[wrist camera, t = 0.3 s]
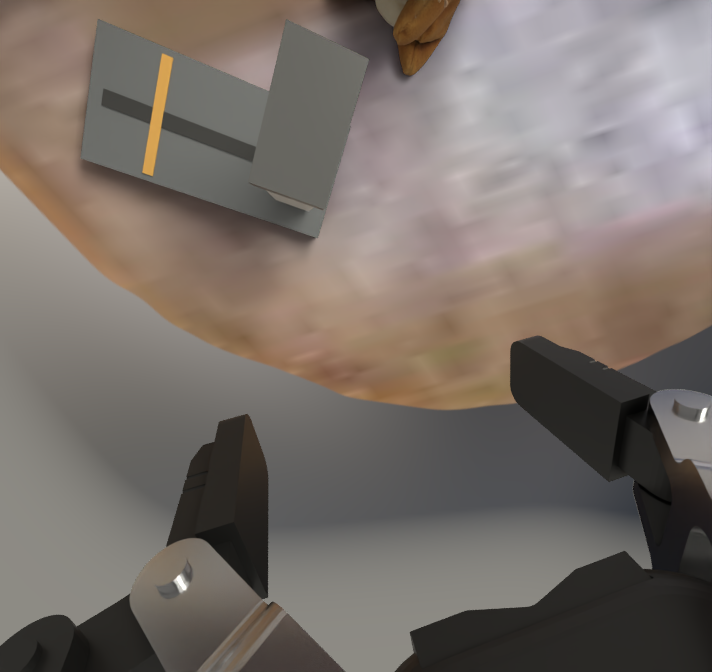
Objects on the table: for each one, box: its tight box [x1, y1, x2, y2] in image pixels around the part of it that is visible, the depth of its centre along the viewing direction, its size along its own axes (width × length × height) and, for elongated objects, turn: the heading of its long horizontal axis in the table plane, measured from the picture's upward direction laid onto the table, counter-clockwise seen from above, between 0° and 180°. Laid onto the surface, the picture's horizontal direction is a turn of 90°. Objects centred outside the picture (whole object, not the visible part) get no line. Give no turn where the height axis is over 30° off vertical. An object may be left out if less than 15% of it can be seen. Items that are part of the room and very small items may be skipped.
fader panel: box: [81, 19, 351, 238], centre depth 31 cm, size 20×10×2 cm, turn 71°
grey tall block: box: [248, 19, 369, 212], centre depth 23 cm, size 4×6×17 cm, turn 161°
